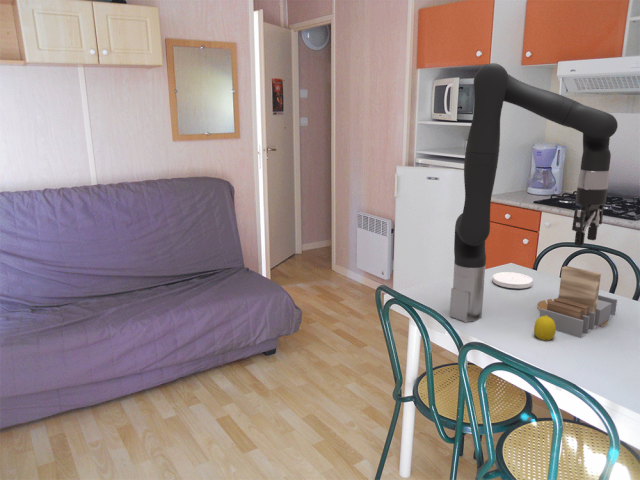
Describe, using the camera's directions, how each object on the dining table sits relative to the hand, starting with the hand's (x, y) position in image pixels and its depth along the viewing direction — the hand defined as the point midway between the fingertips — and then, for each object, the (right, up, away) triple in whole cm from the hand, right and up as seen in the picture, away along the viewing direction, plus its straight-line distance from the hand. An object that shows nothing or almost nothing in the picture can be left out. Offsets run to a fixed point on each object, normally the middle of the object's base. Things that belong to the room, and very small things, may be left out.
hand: (585, 242), depth 147 cm
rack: (+2, -25, +8) cm, 26 cm away
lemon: (-14, -28, -3) cm, 31 cm away
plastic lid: (-5, -16, +43) cm, 47 cm away
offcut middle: (-3, -24, +4) cm, 25 cm away
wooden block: (0, -24, +6) cm, 24 cm away
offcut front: (-6, -25, +1) cm, 26 cm away
